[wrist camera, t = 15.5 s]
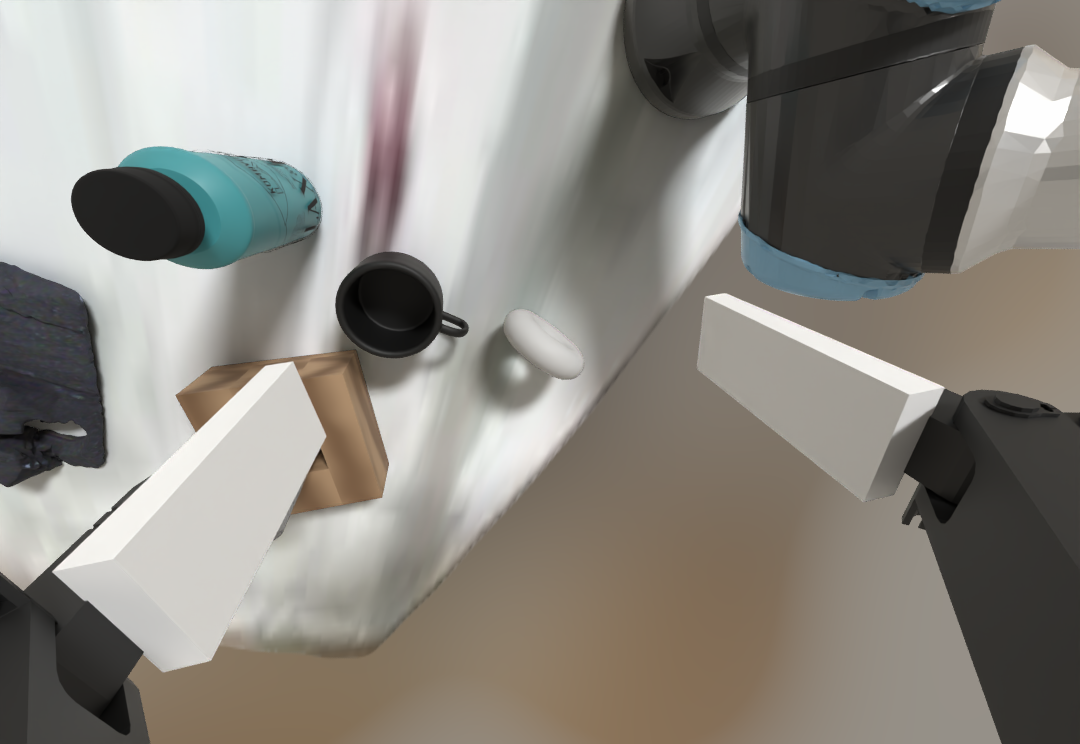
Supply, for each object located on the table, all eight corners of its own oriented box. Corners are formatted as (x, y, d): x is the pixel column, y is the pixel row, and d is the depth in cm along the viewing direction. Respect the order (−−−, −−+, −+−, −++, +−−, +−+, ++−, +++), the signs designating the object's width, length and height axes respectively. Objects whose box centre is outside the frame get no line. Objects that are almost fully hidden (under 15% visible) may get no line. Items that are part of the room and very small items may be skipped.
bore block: (355, 349, 41) (342, 373, 36) (388, 463, 49) (382, 497, 43) (211, 366, 39) (175, 395, 34) (269, 484, 46) (246, 522, 41)
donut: (491, 317, 43) (503, 351, 34) (509, 292, 42) (525, 321, 34) (557, 359, 47) (582, 399, 39) (574, 338, 47) (604, 374, 38)
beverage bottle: (319, 250, 37) (203, 312, 19) (238, 218, 34) (20, 256, 17) (337, 182, 34) (226, 183, 17) (253, 143, 32) (22, 97, 15)
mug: (341, 315, 40) (322, 340, 33) (366, 232, 37) (350, 242, 31) (452, 353, 44) (453, 381, 38) (481, 281, 41) (488, 299, 35)
